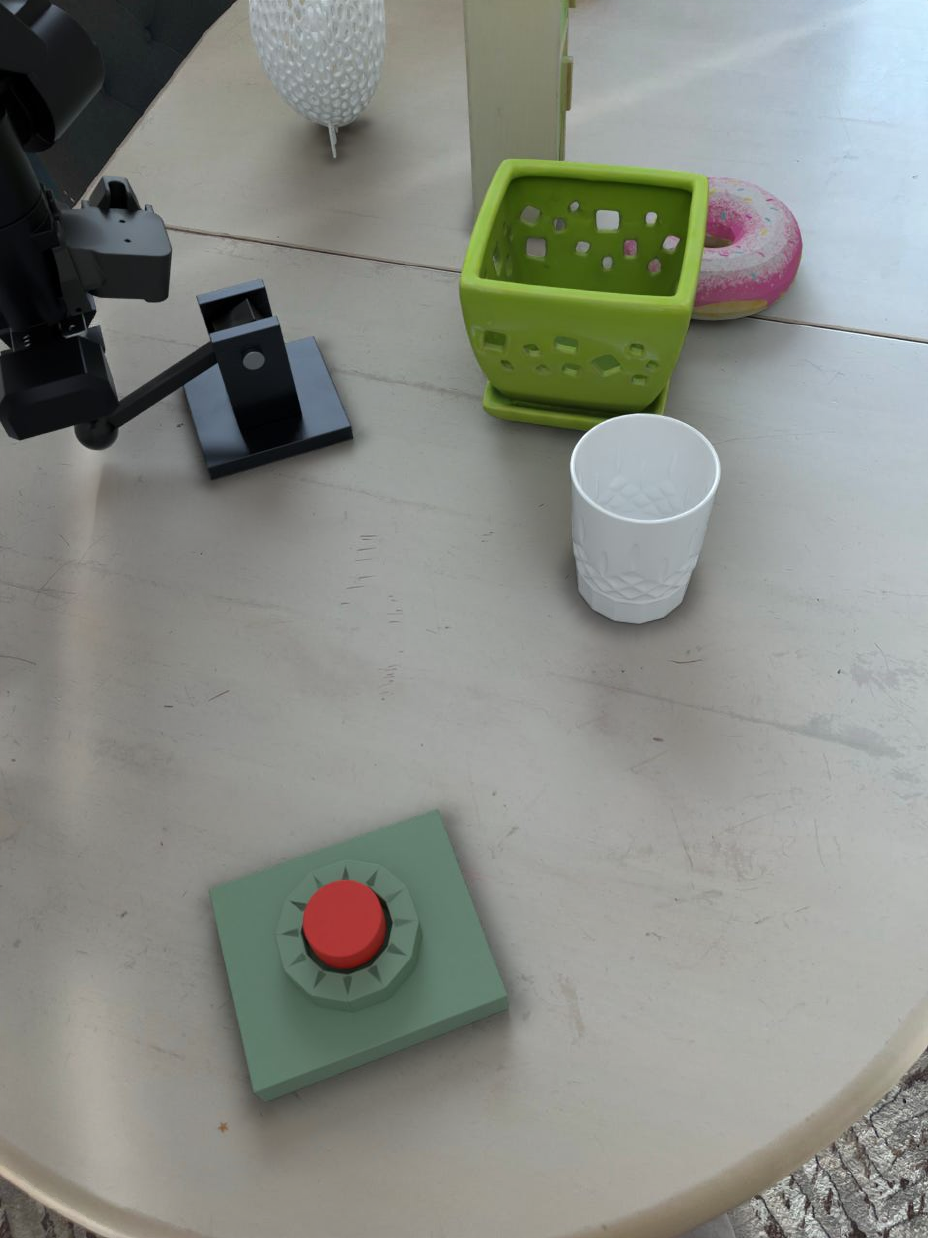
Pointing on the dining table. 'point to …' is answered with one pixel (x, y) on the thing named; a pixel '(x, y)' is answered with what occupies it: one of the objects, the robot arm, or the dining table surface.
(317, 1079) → the button housing
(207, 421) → the lever base
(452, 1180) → the dining table surface
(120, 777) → the dining table surface
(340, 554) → the dining table surface
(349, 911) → the button
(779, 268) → the donut
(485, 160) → the toy refrigerator
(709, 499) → the white cup
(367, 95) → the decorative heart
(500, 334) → the flower pot
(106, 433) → the lever with ball knob
